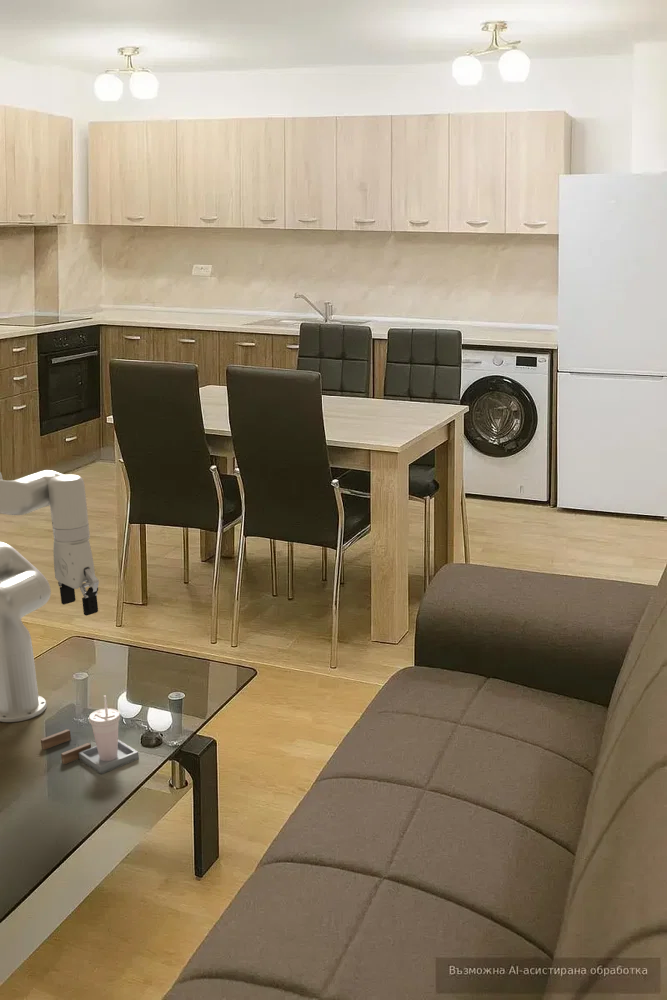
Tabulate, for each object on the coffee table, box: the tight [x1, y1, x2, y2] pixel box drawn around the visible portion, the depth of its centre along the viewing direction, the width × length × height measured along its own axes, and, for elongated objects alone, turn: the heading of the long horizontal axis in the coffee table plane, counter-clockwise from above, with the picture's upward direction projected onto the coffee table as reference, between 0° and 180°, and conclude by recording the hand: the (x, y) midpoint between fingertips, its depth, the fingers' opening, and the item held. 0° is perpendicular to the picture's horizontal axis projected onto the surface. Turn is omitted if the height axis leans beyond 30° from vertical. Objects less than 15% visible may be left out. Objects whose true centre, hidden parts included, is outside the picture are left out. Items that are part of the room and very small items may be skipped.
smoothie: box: [88, 694, 121, 761], centre depth 230 cm, size 6×6×14 cm
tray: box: [78, 738, 140, 775], centre depth 232 cm, size 9×9×2 cm
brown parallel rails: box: [40, 728, 92, 765], centre depth 236 cm, size 10×6×2 cm, turn 42°
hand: (79, 608), depth 239 cm, fingers open, 9 cm apart
